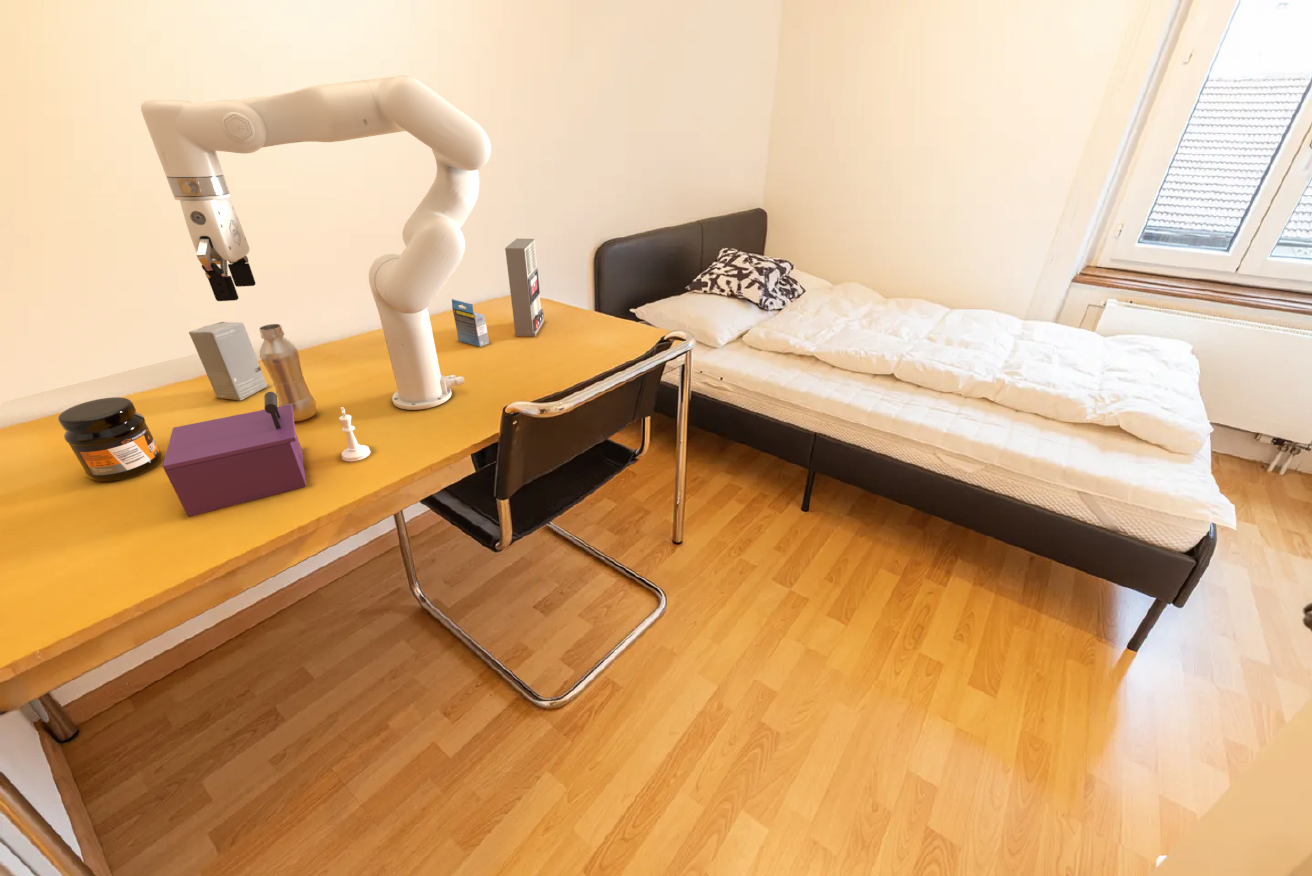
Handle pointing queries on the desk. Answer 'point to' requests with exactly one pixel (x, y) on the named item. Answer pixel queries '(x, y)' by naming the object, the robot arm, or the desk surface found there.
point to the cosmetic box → (229, 360)
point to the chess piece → (352, 441)
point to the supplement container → (110, 439)
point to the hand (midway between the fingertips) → (237, 292)
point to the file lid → (231, 435)
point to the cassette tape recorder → (524, 287)
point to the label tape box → (469, 324)
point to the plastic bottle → (286, 372)
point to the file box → (238, 478)
